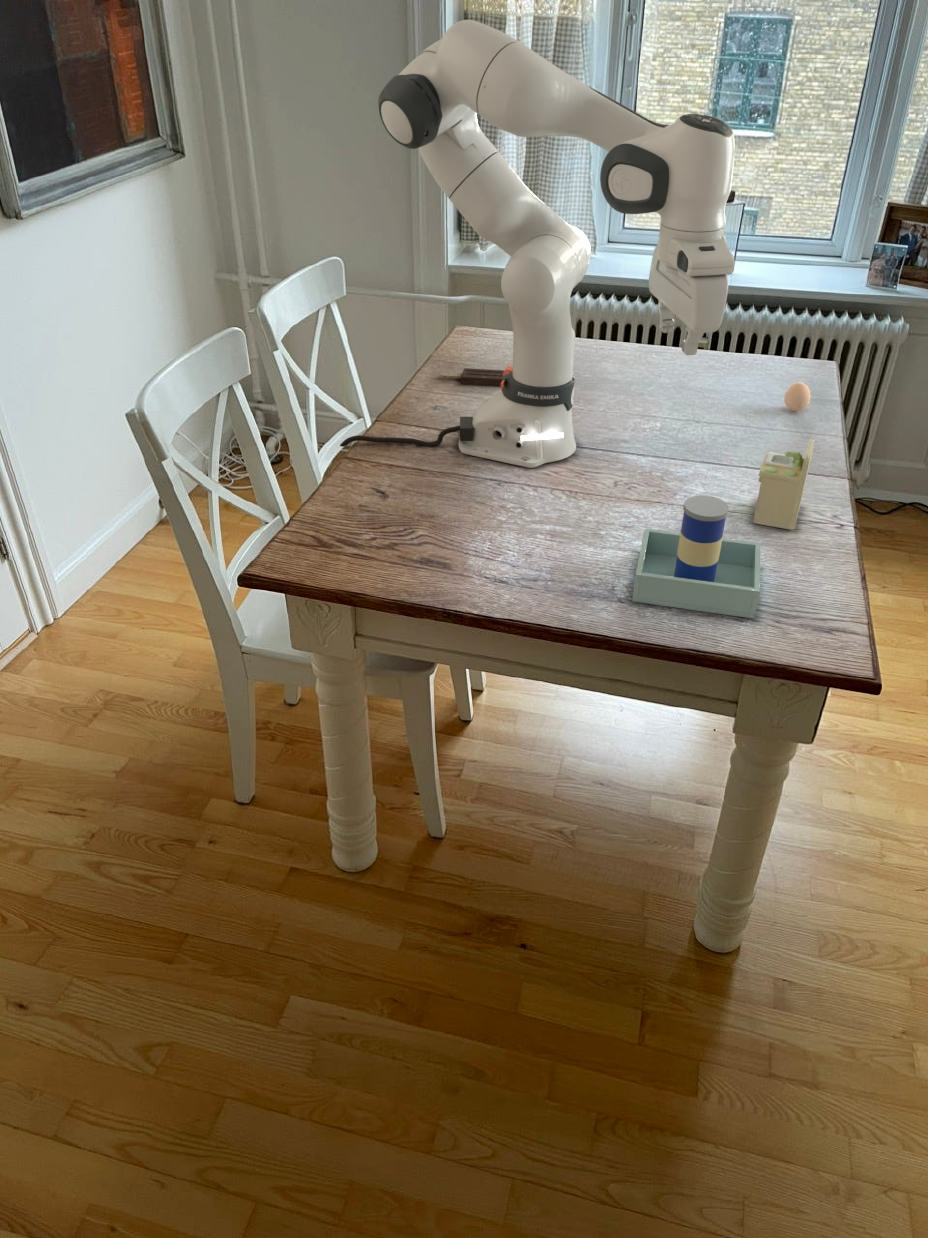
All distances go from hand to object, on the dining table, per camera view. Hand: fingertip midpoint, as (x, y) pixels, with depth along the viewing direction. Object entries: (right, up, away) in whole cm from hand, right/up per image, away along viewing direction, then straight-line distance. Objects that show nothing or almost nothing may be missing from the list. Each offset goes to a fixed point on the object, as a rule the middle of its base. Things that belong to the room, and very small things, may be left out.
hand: (677, 342), depth 143 cm
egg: (+37, +2, +56) cm, 67 cm away
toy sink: (+21, -24, +21) cm, 38 cm away
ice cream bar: (-30, +11, +69) cm, 76 cm away
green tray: (+3, -36, +3) cm, 36 cm away
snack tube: (+3, -35, +3) cm, 36 cm away
